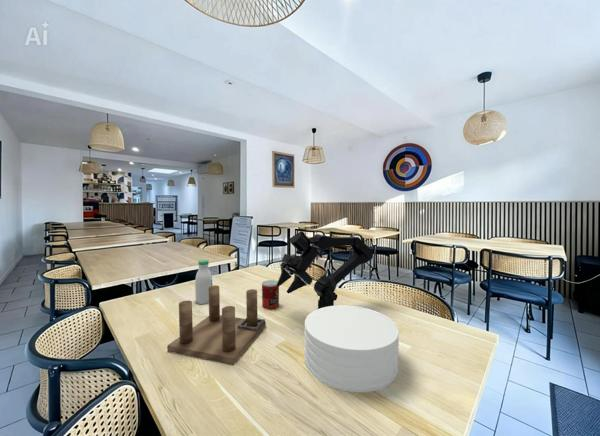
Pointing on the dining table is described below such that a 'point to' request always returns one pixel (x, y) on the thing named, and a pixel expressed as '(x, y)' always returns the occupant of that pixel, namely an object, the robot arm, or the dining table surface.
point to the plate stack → (351, 348)
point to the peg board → (214, 332)
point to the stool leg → (251, 307)
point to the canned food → (270, 294)
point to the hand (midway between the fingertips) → (282, 289)
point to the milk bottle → (203, 282)
